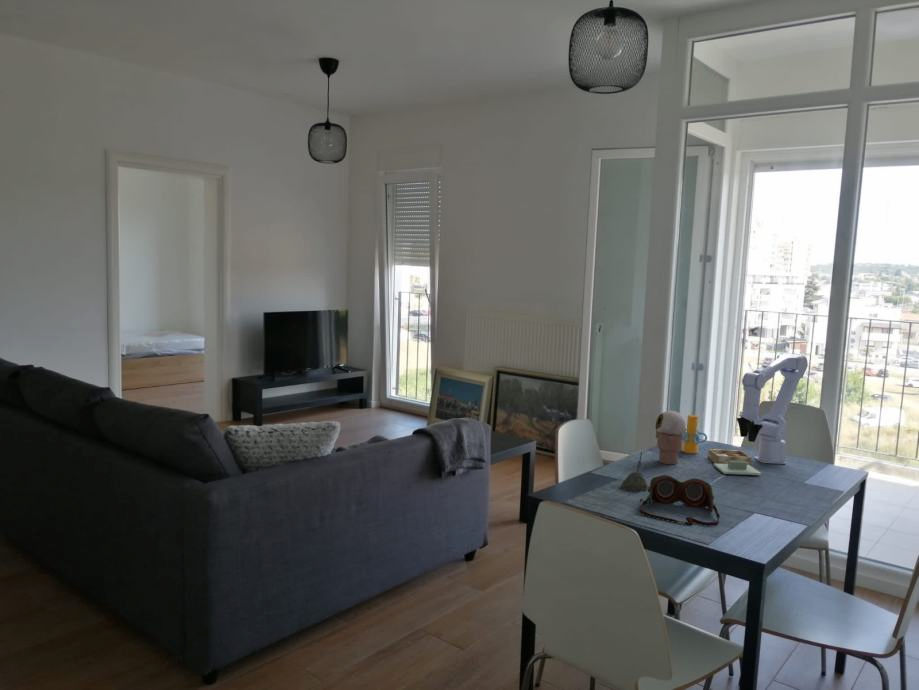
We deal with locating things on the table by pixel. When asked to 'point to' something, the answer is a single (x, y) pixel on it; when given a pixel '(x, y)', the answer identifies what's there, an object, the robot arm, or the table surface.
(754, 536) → the table surface
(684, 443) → the yellow post with rings
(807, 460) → the table surface
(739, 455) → the crate
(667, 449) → the ice cream cone
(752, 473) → the lid
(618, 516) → the table surface
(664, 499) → the goggles
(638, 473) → the sword in stone
